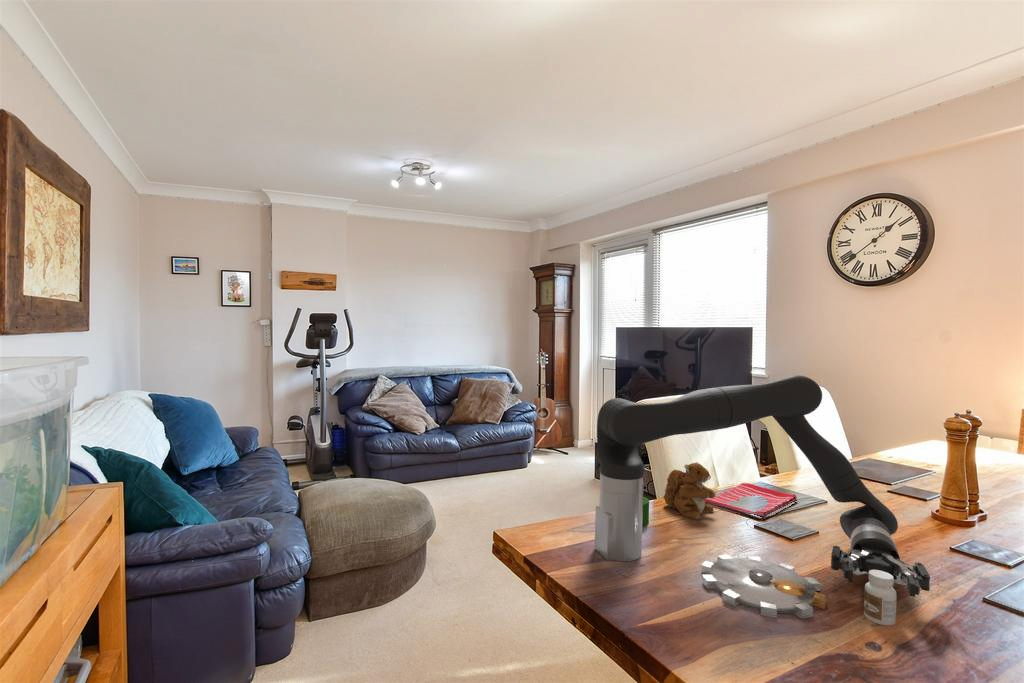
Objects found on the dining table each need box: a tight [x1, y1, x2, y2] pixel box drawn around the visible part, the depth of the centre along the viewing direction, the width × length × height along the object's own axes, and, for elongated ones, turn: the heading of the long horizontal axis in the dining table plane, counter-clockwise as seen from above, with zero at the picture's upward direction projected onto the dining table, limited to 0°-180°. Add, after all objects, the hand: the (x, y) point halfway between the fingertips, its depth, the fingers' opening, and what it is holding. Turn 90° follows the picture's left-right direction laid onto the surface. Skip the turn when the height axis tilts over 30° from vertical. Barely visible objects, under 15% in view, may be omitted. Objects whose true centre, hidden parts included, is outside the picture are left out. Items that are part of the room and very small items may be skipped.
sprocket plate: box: [700, 554, 827, 619], centre depth 97 cm, size 21×21×2 cm
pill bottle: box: [863, 570, 897, 626], centre depth 87 cm, size 4×4×8 cm
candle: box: [642, 496, 650, 527], centre depth 130 cm, size 8×8×10 cm
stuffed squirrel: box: [662, 461, 716, 521], centre depth 138 cm, size 10×14×13 cm
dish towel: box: [704, 482, 798, 521], centre depth 145 cm, size 17×24×3 cm
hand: (881, 583), depth 86 cm, fingers open, 8 cm apart
